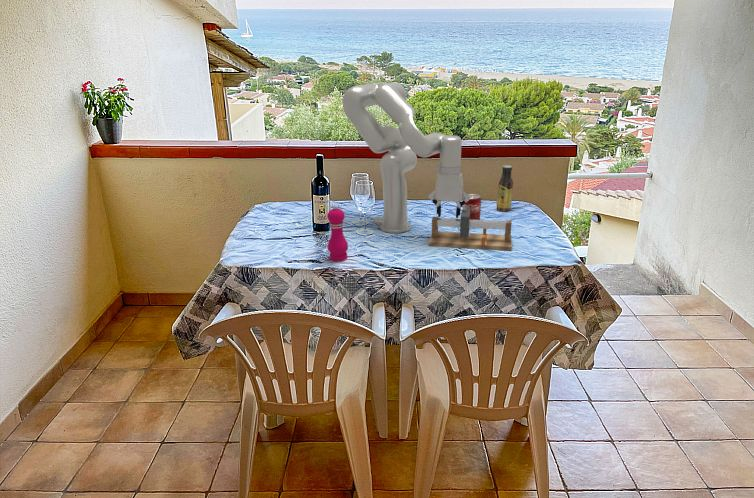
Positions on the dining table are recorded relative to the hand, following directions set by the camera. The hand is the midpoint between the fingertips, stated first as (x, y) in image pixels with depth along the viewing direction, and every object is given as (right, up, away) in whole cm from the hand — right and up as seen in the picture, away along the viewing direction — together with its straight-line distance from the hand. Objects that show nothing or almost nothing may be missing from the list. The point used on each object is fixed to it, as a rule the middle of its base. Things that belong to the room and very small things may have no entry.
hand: (448, 216), depth 197 cm
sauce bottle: (+29, +5, +34) cm, 45 cm away
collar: (+6, -7, -2) cm, 9 cm away
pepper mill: (-41, -16, -12) cm, 46 cm away
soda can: (+12, -2, +18) cm, 22 cm away
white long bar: (+8, -4, -4) cm, 10 cm away
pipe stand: (+8, -10, -1) cm, 13 cm away
